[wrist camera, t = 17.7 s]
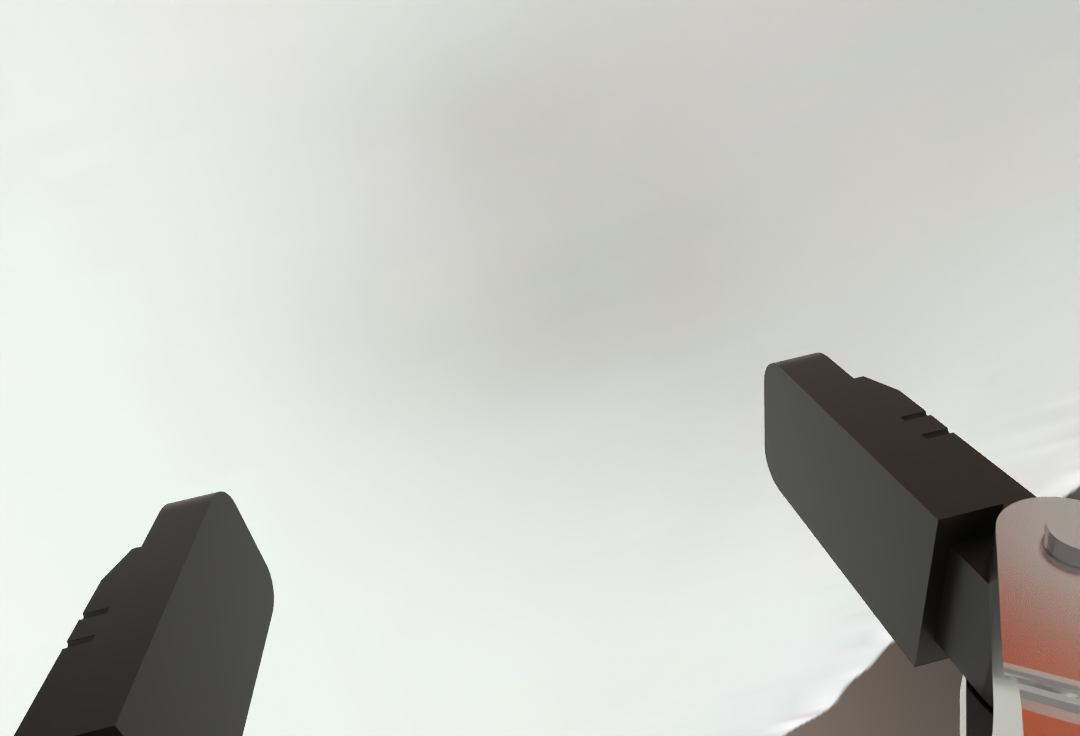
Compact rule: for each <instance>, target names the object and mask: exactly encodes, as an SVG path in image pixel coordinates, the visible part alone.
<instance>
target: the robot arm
mask: <svg viewBox="0 0 1080 736" xmlns="http://www.w3.org/2000/svg"><path fill="white" fill-rule="evenodd" d="M764 405H765V454H766V459H767V464H768V467H769V470H770V473H771V475H772V478H773V480H774V482H775V484H776V485H777V487H778V489H779V490H780V491H781V493H782V494H783V495H784V497H785V498H786V499H787V500H788V502H789V503H790V504H791V506H792V507H793V508H794V510H795V511H796V512H797V514H798V515H799V516H800V517H801V519H802V520H803V521H804V523H805V524H806V525H807V527H808V528H809V529H810V531H811V532H812V533H813V535H814V536H815V537H816V538H817V540H818V541H819V542H820V544H821V545H822V546H823V548H824V549H825V550H826V552H827V553H828V554H829V555H830V557H831V558H832V559H833V561H834V562H835V563H836V565H837V566H838V567H839V569H840V570H841V571H842V572H843V574H844V575H845V576H846V578H847V579H848V580H849V582H850V583H851V584H852V586H853V587H854V588H855V590H856V591H857V592H858V593H859V595H860V596H861V597H862V599H863V600H864V601H865V603H866V604H867V605H868V607H869V608H870V609H871V610H872V612H873V613H874V614H875V616H876V617H877V618H878V620H879V621H880V622H881V624H882V625H883V626H884V627H885V629H886V630H887V631H888V633H889V634H890V635H891V637H892V638H893V639H894V641H895V642H896V643H897V644H898V646H899V647H900V648H901V650H902V651H903V652H904V654H905V655H906V656H907V658H908V659H909V660H910V661H911V663H912V664H913V665H914V667H917V666H921V665H925V664H928V663H932V662H936V661H940V660H943V659H947V658H950V659H951V661H952V662H953V663H954V664H955V665H956V667H957V668H958V669H959V670H960V671H961V673H962V674H963V678H962V683H961V690H960V736H1080V500H1074V499H1069V498H1060V497H1036V496H1034V495H1033V494H1032V493H1031V492H1029V491H1028V490H1027V489H1025V488H1024V487H1023V486H1022V485H1020V484H1019V483H1018V482H1016V481H1015V480H1014V479H1013V478H1011V477H1010V476H1009V475H1007V474H1006V473H1005V472H1004V471H1002V470H1001V469H1000V468H998V467H997V466H996V465H995V464H993V463H992V462H991V461H989V460H988V459H987V458H986V457H984V456H983V455H982V454H980V453H979V452H978V451H976V450H975V449H974V448H973V447H971V446H970V445H969V444H967V443H966V442H965V441H964V440H962V439H961V438H960V437H958V436H957V435H956V434H955V433H949V432H948V428H947V427H946V426H944V425H943V424H942V423H940V422H939V421H938V420H937V419H935V418H934V417H933V416H931V415H929V416H927V415H926V412H925V410H924V409H922V408H921V407H920V406H919V405H917V404H916V403H915V402H913V401H912V400H911V399H910V398H908V397H907V396H906V395H904V394H903V393H902V392H901V391H899V390H897V389H894V388H892V387H889V386H887V385H884V384H882V383H879V382H876V381H874V380H871V379H869V378H866V377H864V376H863V377H859V378H852V377H851V376H850V375H849V374H848V373H846V372H845V371H844V370H843V369H842V368H840V367H839V366H838V365H837V364H836V363H834V362H833V361H832V360H831V359H830V358H828V357H827V356H826V355H824V354H822V353H814V354H810V355H806V356H802V357H797V358H793V359H789V360H785V361H780V362H776V363H772V364H769V365H768V366H767V368H766V371H765V376H764ZM273 605H274V592H273V585H272V580H271V576H270V573H269V570H268V567H267V565H266V563H265V561H264V559H263V557H262V555H261V553H260V551H259V550H258V548H257V546H256V544H255V542H254V540H253V538H252V536H251V534H250V532H249V530H248V528H247V526H246V524H245V522H244V520H243V518H242V516H241V514H240V512H239V510H238V508H237V506H236V504H235V503H234V501H233V500H232V498H231V497H230V496H229V495H228V494H227V493H225V492H216V493H212V494H208V495H204V496H199V497H195V498H191V499H187V500H182V501H178V502H174V503H170V504H167V505H165V506H164V507H163V508H162V509H161V511H160V512H159V514H158V516H157V518H156V520H155V522H154V524H153V526H152V528H151V530H150V531H149V533H148V535H147V537H146V539H145V541H144V543H143V545H142V547H138V548H134V549H132V550H131V551H130V552H129V553H128V554H127V555H126V556H125V557H124V558H123V559H122V560H121V561H120V562H119V563H118V564H117V565H116V566H115V567H114V568H113V569H112V570H111V571H110V572H109V573H108V574H107V575H106V576H105V577H104V578H103V579H102V580H101V582H100V584H99V586H98V587H97V589H96V591H95V593H94V594H93V596H92V598H91V600H90V601H89V603H88V605H87V607H86V609H85V610H84V612H83V615H84V618H83V619H82V620H79V621H78V623H77V625H76V626H75V628H74V630H73V632H72V633H71V635H70V637H69V639H68V641H67V643H68V647H67V648H65V649H62V651H61V653H60V655H59V657H58V658H57V660H56V662H55V664H54V665H53V667H52V669H51V671H50V673H49V674H48V676H47V678H46V680H45V681H44V683H43V685H42V687H41V689H40V690H39V692H38V694H37V696H36V697H35V699H34V701H33V703H32V705H31V706H30V708H29V710H28V712H27V713H26V715H25V717H24V719H23V721H22V722H21V724H20V726H19V728H18V729H17V731H16V733H15V735H14V736H242V735H243V731H244V727H245V723H246V719H247V715H248V711H249V706H250V702H251V698H252V694H253V690H254V686H255V682H256V678H257V674H258V670H259V666H260V662H261V658H262V653H263V649H264V645H265V641H266V637H267V633H268V629H269V625H270V621H271V617H272V612H273Z"/></svg>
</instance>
